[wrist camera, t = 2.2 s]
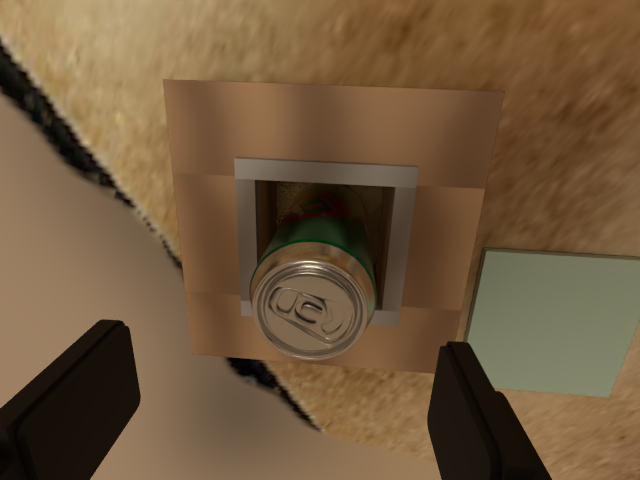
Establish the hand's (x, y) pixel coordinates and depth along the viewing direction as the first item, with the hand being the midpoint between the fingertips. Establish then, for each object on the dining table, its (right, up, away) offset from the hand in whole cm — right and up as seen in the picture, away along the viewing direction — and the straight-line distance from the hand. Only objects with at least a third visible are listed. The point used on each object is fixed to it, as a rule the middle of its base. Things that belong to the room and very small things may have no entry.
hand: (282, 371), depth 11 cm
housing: (+2, +5, +14) cm, 15 cm away
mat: (+17, -2, +15) cm, 23 cm away
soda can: (+2, +6, +14) cm, 15 cm away
